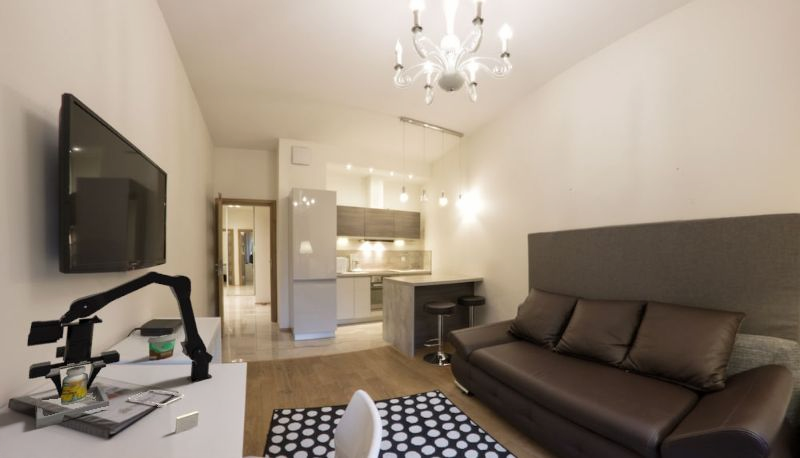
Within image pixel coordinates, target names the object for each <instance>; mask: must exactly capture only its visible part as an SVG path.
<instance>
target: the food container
mask: <svg viewBox="0 0 800 458" xmlns="http://www.w3.org/2000/svg"><path fill="white" fill-rule="evenodd" d="M177 338H178V333H177V332H176V331H172V333H169V334H162V335H159V336H156V337H148V340H147V343H148V353H149V354H148V359H149V361H160V360H166V359H168V358H169V359H170V358H171V357H173V356H174V349H175V344H176V340H177Z"/></svg>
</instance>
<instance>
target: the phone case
mask: <svg viewBox="0 0 800 458" xmlns="http://www.w3.org/2000/svg"><path fill="white" fill-rule="evenodd" d="M157 390H158V391H161V392H160V393H162V392H166V393H170V394H173V395H174V396H173V397H176V398H174V399H171V400H169V401H167V402H165V403H158V402H155V403H156V404H157V405H158V406H157V407H156V408H165V407H167V406H168V404H169V403H172V402H174V401H176V400H179V399H180V400H182V399H184V398H185V395H184V394H182V393H176V392H170V391H164V390H160V389H157ZM140 393H141V392H140ZM140 393H137V394H135V395H138V394H140ZM135 395H132V396H129V397H127V400H128V399H131V398H130V397H133V396H135ZM134 399H135V400H138V398H134ZM146 401H147V400H146ZM147 402H149V401H147ZM152 403H154V402H153V401H152Z"/></svg>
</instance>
